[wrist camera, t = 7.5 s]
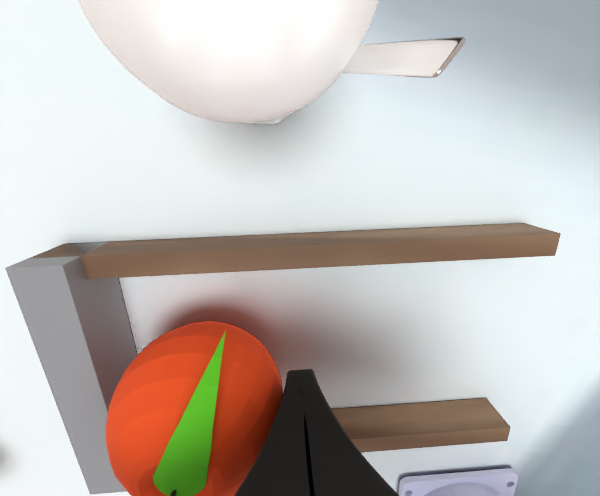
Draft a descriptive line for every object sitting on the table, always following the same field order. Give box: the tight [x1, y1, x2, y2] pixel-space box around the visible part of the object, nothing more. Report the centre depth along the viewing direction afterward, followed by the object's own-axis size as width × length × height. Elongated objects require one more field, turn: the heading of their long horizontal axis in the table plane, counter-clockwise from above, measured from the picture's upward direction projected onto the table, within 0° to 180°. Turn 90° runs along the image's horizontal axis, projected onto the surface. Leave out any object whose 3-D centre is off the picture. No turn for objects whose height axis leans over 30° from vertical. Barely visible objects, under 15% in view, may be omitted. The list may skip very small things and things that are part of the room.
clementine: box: [106, 321, 283, 496], centre depth 12 cm, size 8×7×7 cm
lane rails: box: [29, 223, 560, 452], centre depth 15 cm, size 12×22×2 cm, turn 92°
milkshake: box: [78, 0, 465, 124], centre depth 7 cm, size 4×5×10 cm
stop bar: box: [6, 242, 137, 494], centre depth 14 cm, size 12×2×3 cm, turn 2°
